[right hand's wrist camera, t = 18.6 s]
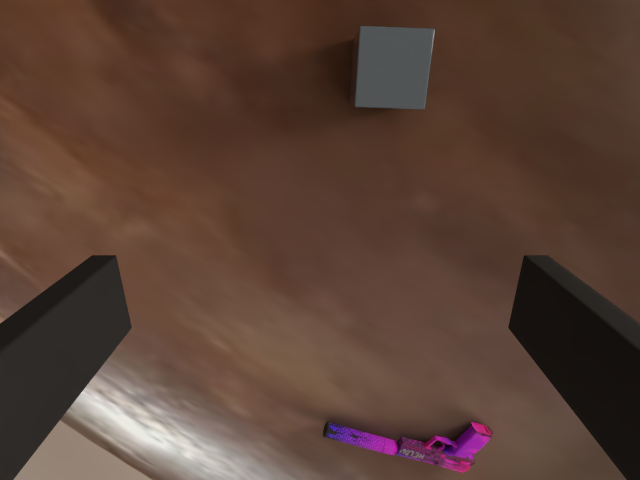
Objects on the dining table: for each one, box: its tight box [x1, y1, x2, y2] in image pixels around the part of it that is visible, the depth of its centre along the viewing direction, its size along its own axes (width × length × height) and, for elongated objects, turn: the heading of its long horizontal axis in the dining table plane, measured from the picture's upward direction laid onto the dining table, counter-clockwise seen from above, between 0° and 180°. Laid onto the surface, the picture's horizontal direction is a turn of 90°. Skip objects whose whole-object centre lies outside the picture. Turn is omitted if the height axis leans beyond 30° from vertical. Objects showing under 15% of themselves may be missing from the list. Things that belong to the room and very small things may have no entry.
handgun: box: [323, 422, 493, 473], centre depth 50 cm, size 21×8×2 cm, turn 72°
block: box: [349, 26, 435, 110], centre depth 31 cm, size 5×5×8 cm
